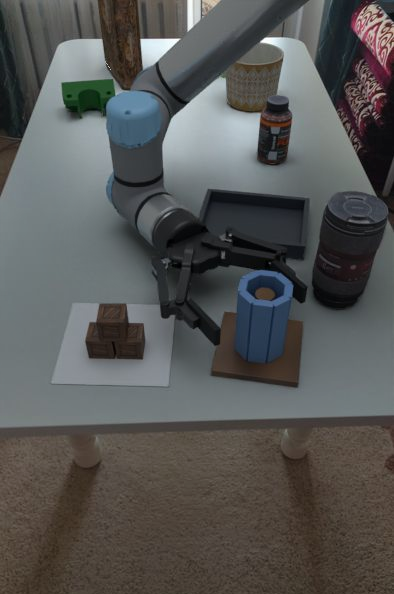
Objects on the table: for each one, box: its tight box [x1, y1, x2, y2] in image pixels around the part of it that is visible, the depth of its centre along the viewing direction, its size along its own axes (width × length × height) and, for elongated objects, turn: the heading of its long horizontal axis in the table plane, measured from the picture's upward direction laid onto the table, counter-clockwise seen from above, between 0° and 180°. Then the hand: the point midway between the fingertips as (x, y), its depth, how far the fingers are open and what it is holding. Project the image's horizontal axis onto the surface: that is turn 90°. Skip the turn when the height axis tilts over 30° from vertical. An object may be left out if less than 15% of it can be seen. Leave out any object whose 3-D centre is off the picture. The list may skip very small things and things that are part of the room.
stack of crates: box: [50, 302, 176, 388], centre depth 72 cm, size 15×15×7 cm
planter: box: [225, 41, 285, 112], centre depth 120 cm, size 13×13×10 cm
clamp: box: [60, 78, 117, 119], centre depth 119 cm, size 12×6×9 cm, turn 94°
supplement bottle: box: [256, 94, 293, 165], centre depth 103 cm, size 6×6×11 cm
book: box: [96, 0, 144, 91], centre depth 125 cm, size 16×6×25 cm, turn 21°
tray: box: [197, 188, 311, 260], centre depth 91 cm, size 18×14×3 cm
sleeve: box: [234, 270, 293, 364], centre depth 69 cm, size 6×6×10 cm
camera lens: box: [311, 190, 389, 310], centre depth 75 cm, size 8×8×15 cm
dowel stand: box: [210, 288, 304, 388], centre depth 70 cm, size 11×11×10 cm
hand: (262, 316), depth 68 cm, fingers open, 13 cm apart
